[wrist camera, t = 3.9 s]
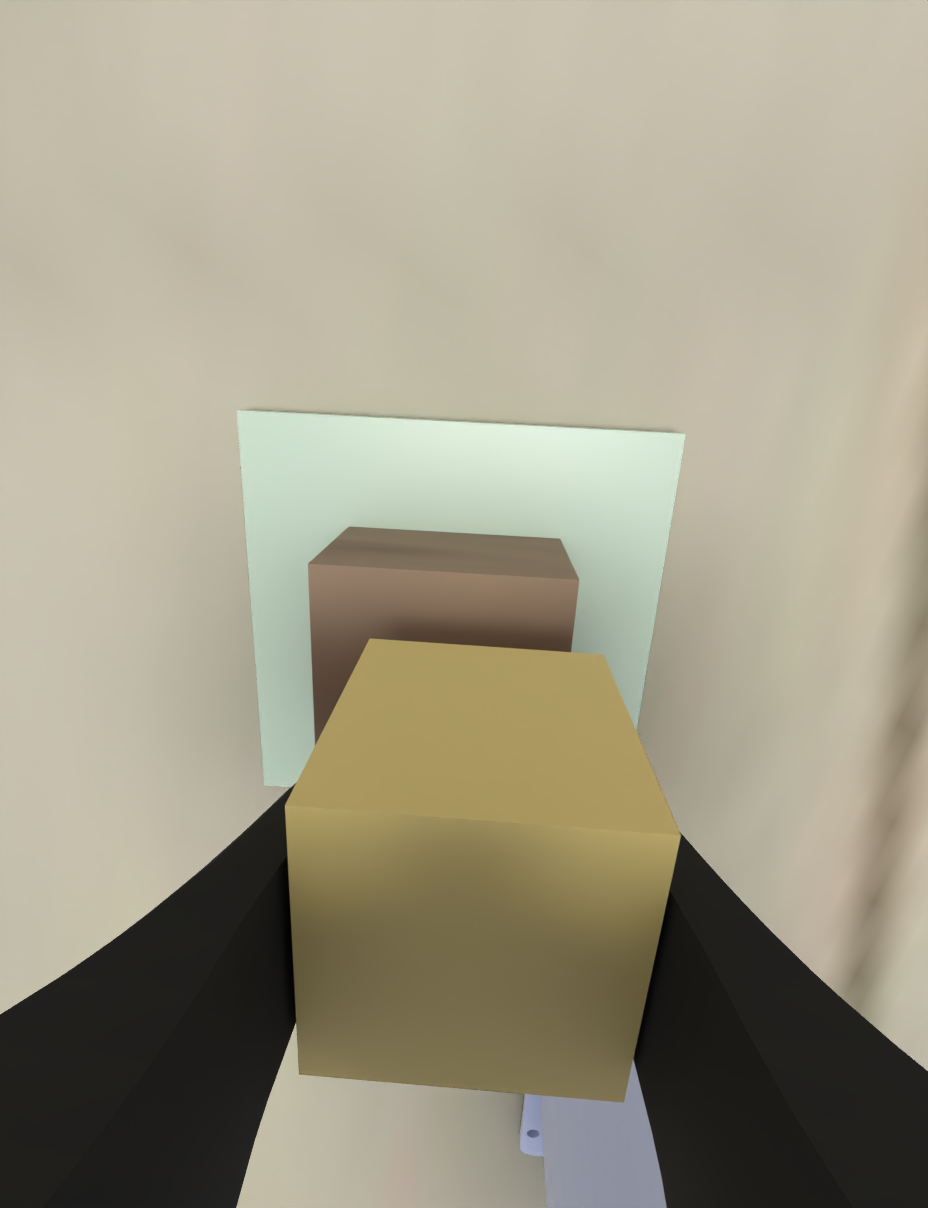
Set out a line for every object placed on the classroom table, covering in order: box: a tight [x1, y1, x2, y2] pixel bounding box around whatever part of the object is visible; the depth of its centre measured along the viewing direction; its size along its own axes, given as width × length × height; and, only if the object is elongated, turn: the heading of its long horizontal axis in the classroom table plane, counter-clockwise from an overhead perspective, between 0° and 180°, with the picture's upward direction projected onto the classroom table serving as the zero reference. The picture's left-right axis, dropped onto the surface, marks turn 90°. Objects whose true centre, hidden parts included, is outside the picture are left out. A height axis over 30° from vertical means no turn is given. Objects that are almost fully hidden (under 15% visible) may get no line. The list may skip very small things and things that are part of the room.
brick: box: [285, 639, 681, 1103], centre depth 10 cm, size 4×4×5 cm
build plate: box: [237, 410, 686, 787], centre depth 18 cm, size 12×12×1 cm
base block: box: [308, 526, 579, 745], centre depth 16 cm, size 6×6×4 cm
